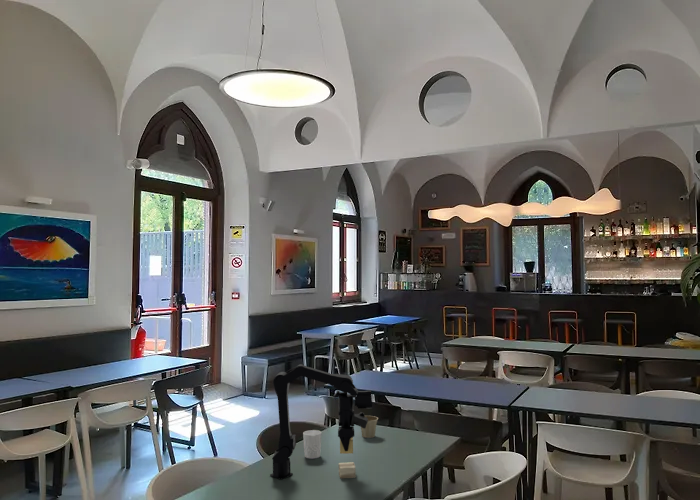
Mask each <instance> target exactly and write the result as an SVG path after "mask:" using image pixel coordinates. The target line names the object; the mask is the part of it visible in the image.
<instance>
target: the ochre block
mask: <svg viewBox="0 0 700 500" xmlns="http://www.w3.org/2000/svg"><path fill="white" fill-rule="evenodd" d="M339 454H343V455H344V454H348V455H349V454H354V437H351V438H350V442H349V448H348V451H345V450H344V447H343V445H342V442H341V440H340V439H339Z"/></svg>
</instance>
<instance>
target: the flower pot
mask: <svg viewBox="0 0 700 500" xmlns="http://www.w3.org/2000/svg"><path fill="white" fill-rule="evenodd" d="M365 417H367V418H368V422H367V425H366V428H362V427H360V429H361V436H362V438H364V439H366V438H368V439H372V438H375V436H376V430H377V428H376V427H377V423H378V420H379V417H377V416H375V415H374V416H373V415H365Z"/></svg>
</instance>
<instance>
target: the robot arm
mask: <svg viewBox="0 0 700 500" xmlns="http://www.w3.org/2000/svg"><path fill="white" fill-rule="evenodd" d="M300 377H303V378H307V379H311V380H314V381H317V382H320V383H324V384H327V385H330V386H331V387H332V388H334V389H335V390H336V389H337V391H336V392H335V393H334V394H333V398H334V399H338V424H337V425H338V429H337V437H338V438H339V441H340V440H341V442H342V445H343V447H344V450H345V451H348V448H349V442H350V438H351V437H353V438H354V437H355V426H357V427H360V428H361V427H362V428H366V425H367V422H368V418H367V417H365V416H366V415H365V413H364V412H362V411H360V412H359V413H355V410H354V406H355V407H356V408H357V409H373V398H372V390H371V389H370V390H358V388H357V387H356V385H355V384H354V380H353V378H352V376H351V375H349V374H340V373H330V372H327V371H324V370H320V369H316V368H313V367H310V366H307V365H304V364H298V365H297V366H295V367H292V368H291V369H289V370H287V371H280V372H278V373H277V374H276V375H275V376H274V378H273V380H272V384H273V387H274V391H275V394H276V396H277V397H276V398H277V406H278V407H277V409H278V421H279V437H278V446H277V447H278V448H276V450H275V451H274V453H273V455H272V473H270V474H269V476H270V477H273V478H276V479H278V480H283V479H285V478H288V477H291V476H293V472H291V459H290V457H291V456H292V455H293V452H294V450H295V448H296V445H297V442H296V434H292V432H291V425H290V424H291V423H290V410H289V391H290V383H291V382H293V381H295V380H297V379H298V378H300Z"/></svg>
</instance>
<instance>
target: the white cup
mask: <svg viewBox="0 0 700 500" xmlns="http://www.w3.org/2000/svg"><path fill="white" fill-rule="evenodd" d="M302 437H303V438H302V439H303V451H304V458H306V459H310V460H311V459H313V460H314V459H319V458H320V457H321V454H322V453H321V449H322V430H321V431H320V430H318V429H312V430H311V429H310V430H305V431H303V432H302Z"/></svg>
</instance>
